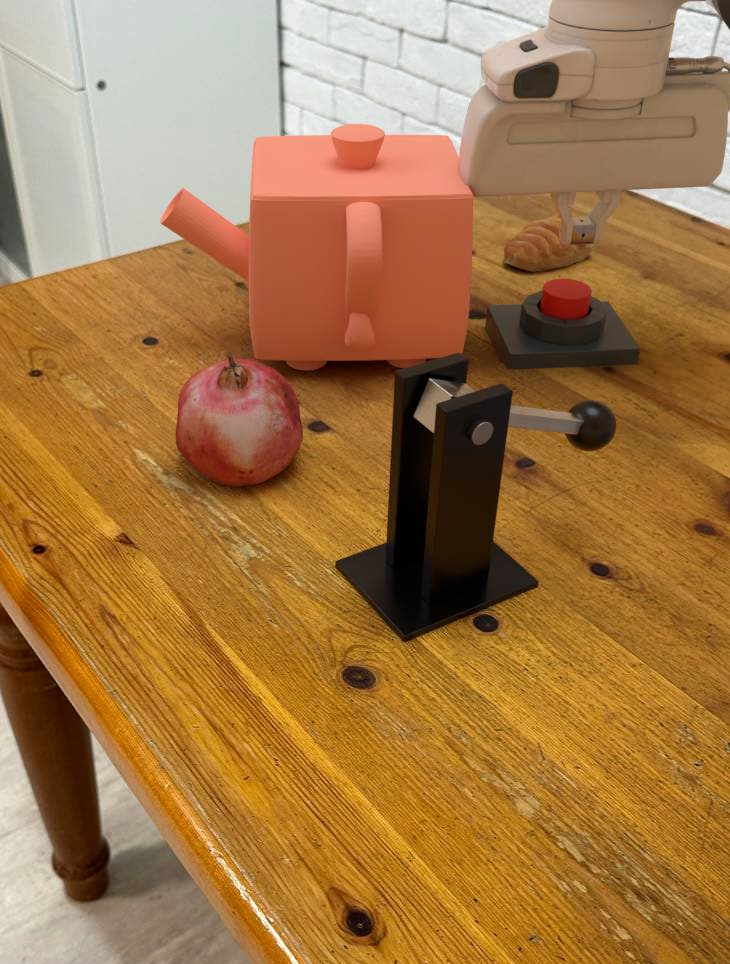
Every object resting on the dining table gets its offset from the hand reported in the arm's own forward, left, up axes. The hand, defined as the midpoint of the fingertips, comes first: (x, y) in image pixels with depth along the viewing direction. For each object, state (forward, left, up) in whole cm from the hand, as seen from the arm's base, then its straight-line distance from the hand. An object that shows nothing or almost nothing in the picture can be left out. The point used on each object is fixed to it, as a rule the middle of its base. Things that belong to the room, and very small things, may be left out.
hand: (578, 242), depth 85 cm
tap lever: (+12, +28, 0) cm, 30 cm away
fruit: (+28, +16, -10) cm, 34 cm away
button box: (0, 0, -10) cm, 10 cm away
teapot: (+21, -4, -10) cm, 24 cm away
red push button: (0, 0, -6) cm, 6 cm away
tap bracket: (+16, +30, -10) cm, 36 cm away
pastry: (-4, -19, -10) cm, 22 cm away
